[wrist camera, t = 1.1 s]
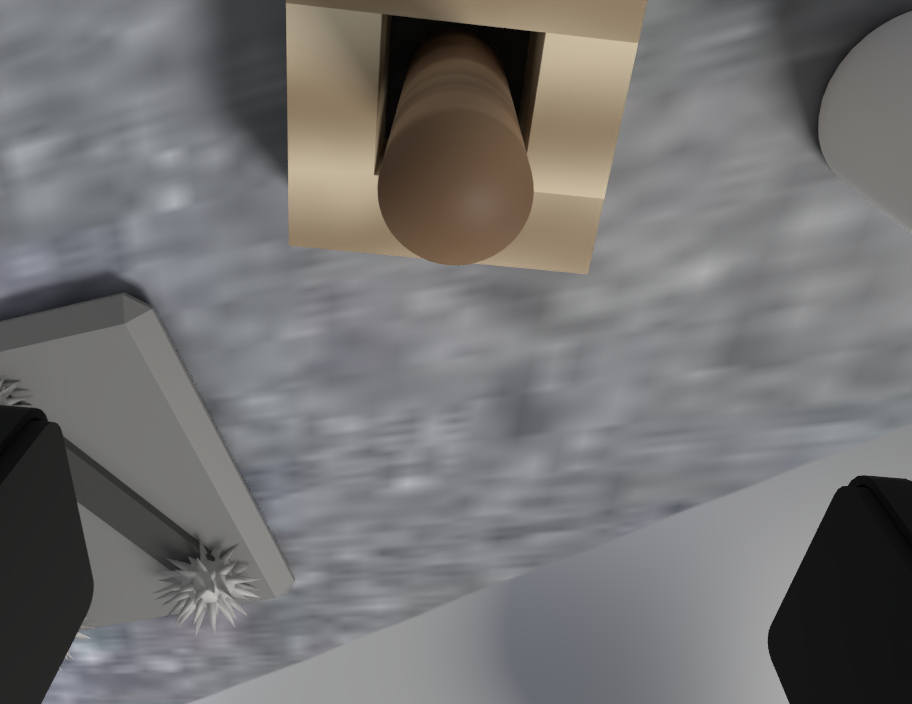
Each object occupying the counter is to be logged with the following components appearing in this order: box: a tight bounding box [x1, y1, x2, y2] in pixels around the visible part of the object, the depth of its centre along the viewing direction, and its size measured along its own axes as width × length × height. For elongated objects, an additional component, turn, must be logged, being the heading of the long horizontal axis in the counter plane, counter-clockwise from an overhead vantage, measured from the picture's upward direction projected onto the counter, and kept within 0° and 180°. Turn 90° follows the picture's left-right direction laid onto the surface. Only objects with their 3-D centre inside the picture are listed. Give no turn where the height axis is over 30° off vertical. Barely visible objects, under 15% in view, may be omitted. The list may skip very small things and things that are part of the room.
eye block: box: [286, 0, 648, 274], centre depth 29 cm, size 12×12×5 cm
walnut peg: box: [377, 26, 534, 265], centre depth 25 cm, size 4×4×14 cm
